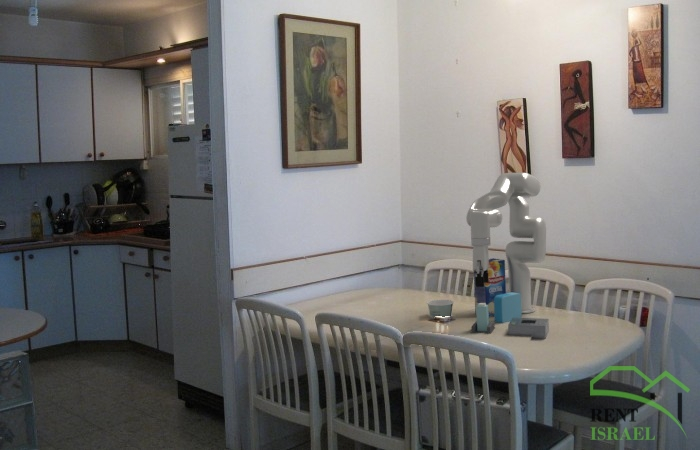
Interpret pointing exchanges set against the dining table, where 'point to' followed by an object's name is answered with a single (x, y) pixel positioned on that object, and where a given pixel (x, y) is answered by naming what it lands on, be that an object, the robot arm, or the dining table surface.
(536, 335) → the port block
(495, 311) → the data package
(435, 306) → the food container
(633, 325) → the dining table surface
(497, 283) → the juice carton
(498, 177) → the robot arm
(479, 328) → the teal plug
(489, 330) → the bracket
